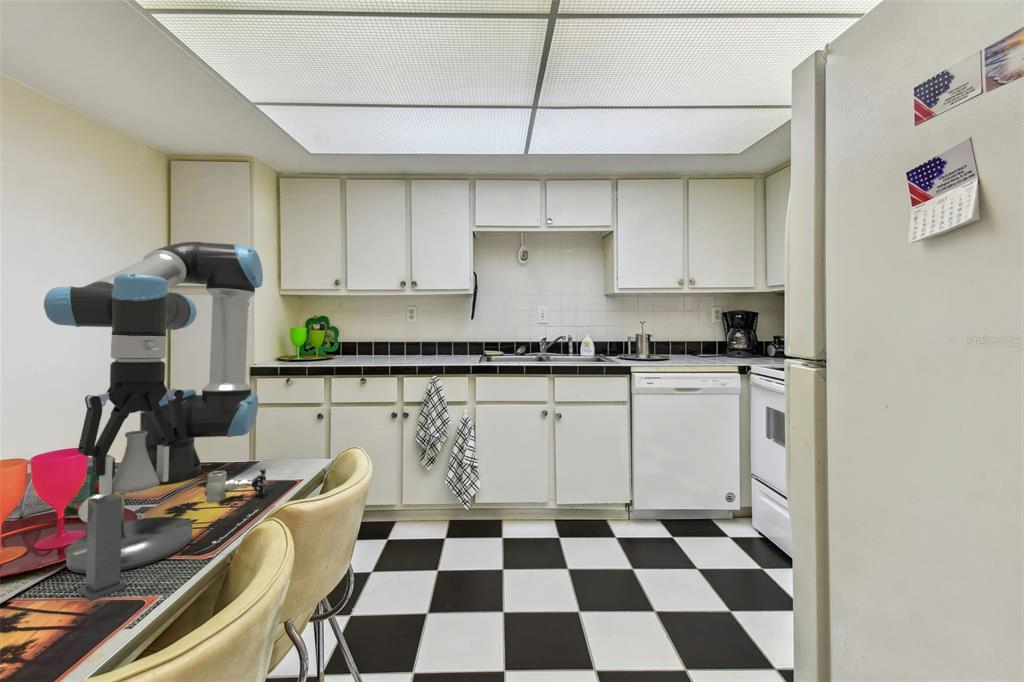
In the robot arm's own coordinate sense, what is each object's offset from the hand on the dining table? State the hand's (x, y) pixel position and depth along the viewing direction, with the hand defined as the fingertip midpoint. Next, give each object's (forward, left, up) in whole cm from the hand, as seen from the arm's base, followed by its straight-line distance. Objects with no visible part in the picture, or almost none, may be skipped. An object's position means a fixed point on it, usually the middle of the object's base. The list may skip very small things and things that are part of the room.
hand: (134, 486), depth 78 cm
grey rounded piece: (0, 0, -12) cm, 12 cm away
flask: (0, 0, 0) cm, 0 cm away
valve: (-24, -10, -12) cm, 29 cm away
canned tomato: (-3, -28, -12) cm, 31 cm away
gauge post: (+8, +11, -12) cm, 18 cm away
